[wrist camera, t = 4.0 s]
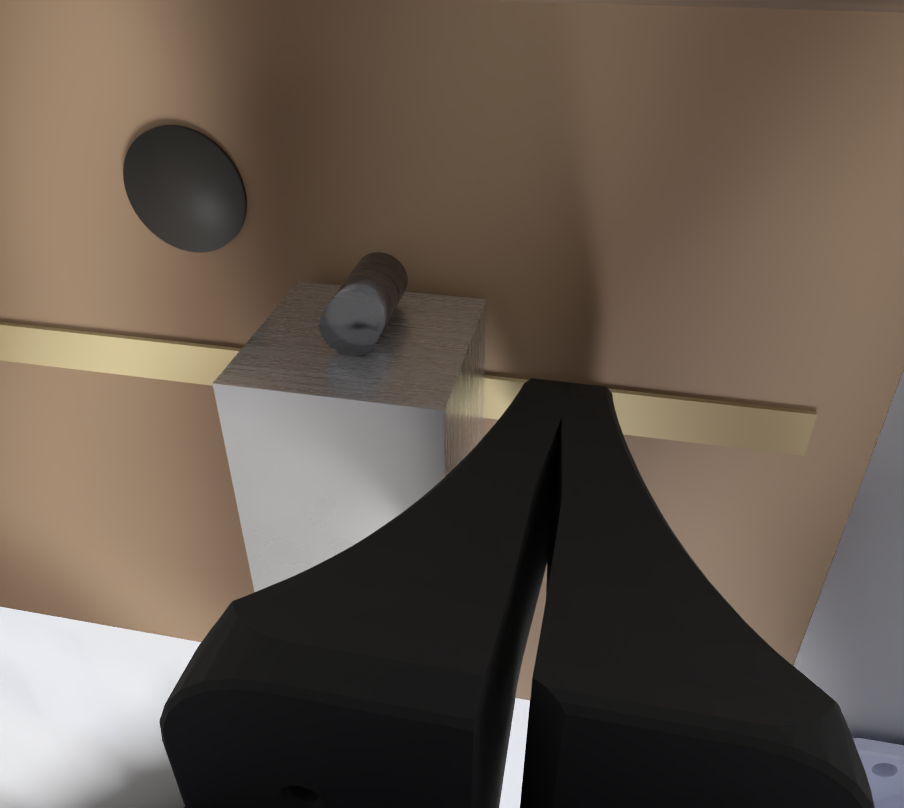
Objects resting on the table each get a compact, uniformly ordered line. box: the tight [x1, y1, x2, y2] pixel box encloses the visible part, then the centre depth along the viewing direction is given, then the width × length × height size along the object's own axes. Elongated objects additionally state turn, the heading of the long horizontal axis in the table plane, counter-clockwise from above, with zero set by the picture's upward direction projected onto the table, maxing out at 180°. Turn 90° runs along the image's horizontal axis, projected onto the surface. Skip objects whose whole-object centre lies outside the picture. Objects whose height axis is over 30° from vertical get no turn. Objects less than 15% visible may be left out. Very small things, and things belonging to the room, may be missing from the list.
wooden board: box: [0, 0, 904, 700], centre depth 14 cm, size 20×14×5 cm
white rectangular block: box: [212, 252, 486, 592], centre depth 12 cm, size 3×5×3 cm, turn 0°
